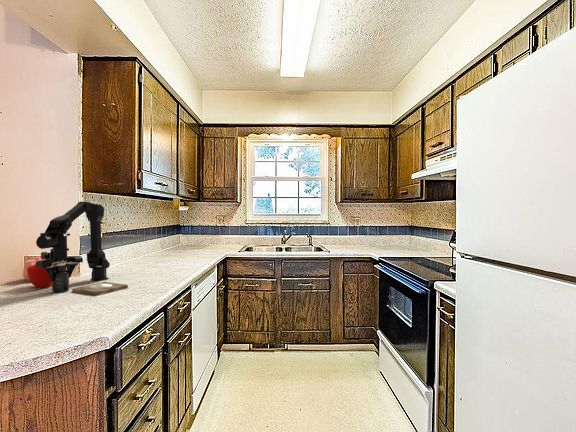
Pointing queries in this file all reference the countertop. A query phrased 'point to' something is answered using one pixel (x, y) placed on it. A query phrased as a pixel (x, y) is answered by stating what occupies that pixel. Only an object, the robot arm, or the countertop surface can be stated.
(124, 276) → the countertop surface
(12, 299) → the countertop surface
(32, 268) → the ceramic cup
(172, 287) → the countertop surface
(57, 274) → the supplement bottle
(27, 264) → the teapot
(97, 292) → the walnut board
